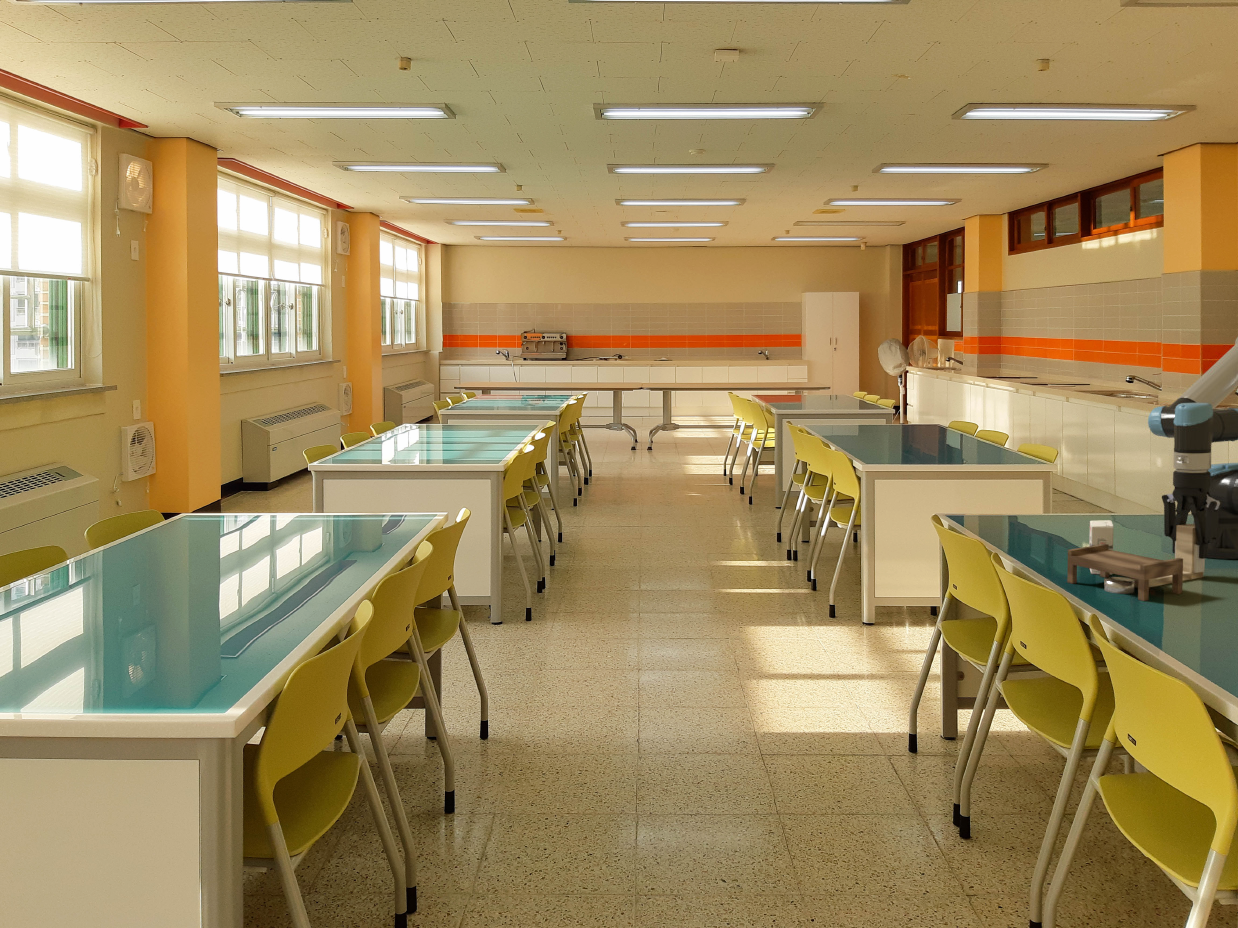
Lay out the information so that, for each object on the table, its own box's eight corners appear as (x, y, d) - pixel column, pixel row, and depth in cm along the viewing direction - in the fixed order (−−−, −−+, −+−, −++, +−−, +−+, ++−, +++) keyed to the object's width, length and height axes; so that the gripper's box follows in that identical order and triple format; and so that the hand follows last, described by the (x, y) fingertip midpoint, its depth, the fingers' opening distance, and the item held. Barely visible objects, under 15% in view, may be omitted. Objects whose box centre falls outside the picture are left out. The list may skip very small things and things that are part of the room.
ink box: (1088, 566, 245) (1089, 519, 243) (1110, 567, 243) (1111, 519, 242) (1090, 574, 237) (1091, 525, 235) (1113, 575, 235) (1114, 526, 234)
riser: (1104, 575, 235) (1104, 543, 234) (1182, 593, 217) (1183, 558, 216) (1067, 582, 230) (1067, 549, 229) (1143, 600, 212) (1144, 565, 211)
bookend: (1187, 573, 233) (1188, 523, 232) (1203, 577, 230) (1204, 526, 228) (1127, 585, 225) (1127, 533, 224) (1142, 588, 222) (1143, 536, 220)
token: (1117, 586, 225) (1117, 575, 225) (1140, 591, 220) (1140, 580, 220) (1098, 590, 223) (1098, 579, 223) (1121, 595, 218) (1121, 584, 217)
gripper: (1147, 468, 234) (1145, 565, 237) (1216, 475, 218) (1213, 579, 221) (1169, 465, 237) (1167, 561, 240) (1238, 472, 221) (1235, 574, 224)
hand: (1189, 569), depth 230 cm, fingers closed on bookend, 4 cm apart
